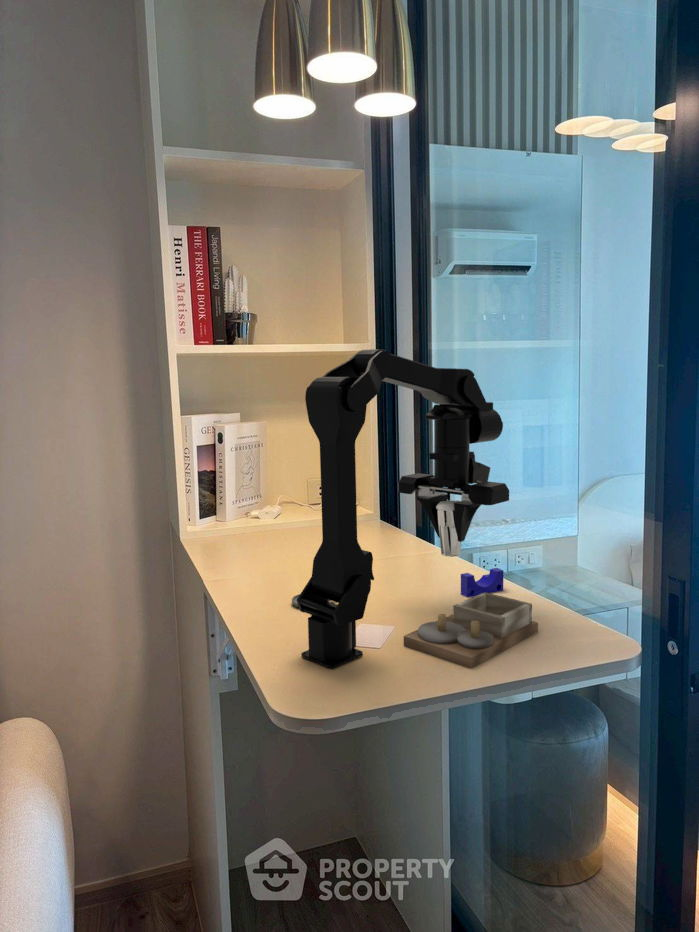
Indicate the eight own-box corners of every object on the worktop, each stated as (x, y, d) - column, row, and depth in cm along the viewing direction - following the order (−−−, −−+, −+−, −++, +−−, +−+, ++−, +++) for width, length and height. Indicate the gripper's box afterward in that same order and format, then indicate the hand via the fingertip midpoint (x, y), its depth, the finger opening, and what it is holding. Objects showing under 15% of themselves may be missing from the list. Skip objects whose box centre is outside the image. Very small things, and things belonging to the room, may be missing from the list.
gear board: (471, 668, 97) (471, 636, 96) (403, 645, 105) (403, 616, 105) (537, 631, 110) (538, 603, 109) (473, 613, 118) (473, 587, 117)
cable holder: (491, 586, 133) (491, 565, 133) (503, 591, 130) (503, 570, 130) (456, 593, 130) (456, 571, 129) (467, 598, 127) (467, 576, 126)
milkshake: (463, 549, 121) (462, 492, 120) (465, 557, 116) (464, 497, 114) (436, 550, 121) (435, 492, 120) (437, 558, 116) (436, 497, 115)
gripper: (528, 445, 115) (526, 539, 117) (435, 438, 128) (435, 523, 130) (490, 452, 107) (488, 552, 109) (395, 444, 120) (396, 534, 122)
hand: (451, 539), depth 118 cm, fingers closed on milkshake, 4 cm apart
